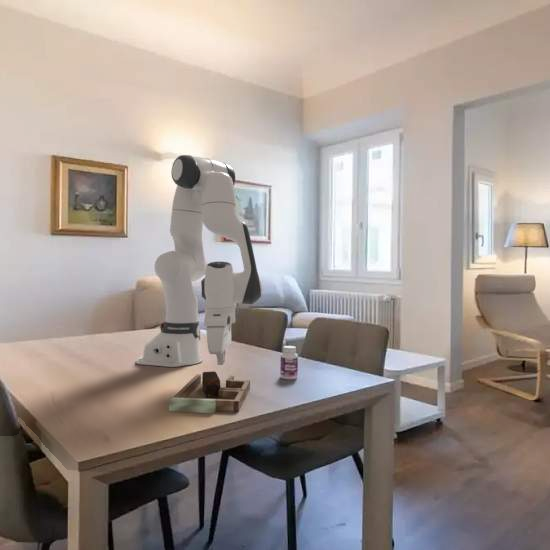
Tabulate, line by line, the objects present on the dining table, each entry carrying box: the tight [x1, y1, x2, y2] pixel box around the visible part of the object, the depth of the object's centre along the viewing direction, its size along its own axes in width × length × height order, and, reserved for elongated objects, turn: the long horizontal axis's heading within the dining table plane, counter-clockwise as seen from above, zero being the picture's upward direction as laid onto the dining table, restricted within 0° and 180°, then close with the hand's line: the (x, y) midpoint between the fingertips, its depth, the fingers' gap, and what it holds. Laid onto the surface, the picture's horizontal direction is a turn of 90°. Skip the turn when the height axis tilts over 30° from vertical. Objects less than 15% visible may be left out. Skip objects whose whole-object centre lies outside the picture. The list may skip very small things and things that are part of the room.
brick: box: [201, 371, 222, 399], centre depth 127 cm, size 11×4×5 cm, turn 14°
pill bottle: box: [279, 345, 299, 380], centre depth 144 cm, size 5×5×10 cm
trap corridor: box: [168, 373, 251, 414], centre depth 123 cm, size 16×26×3 cm, turn 175°
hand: (221, 364), depth 137 cm, fingers closed
